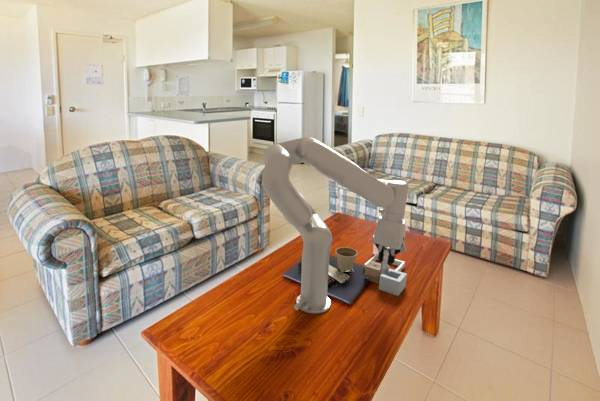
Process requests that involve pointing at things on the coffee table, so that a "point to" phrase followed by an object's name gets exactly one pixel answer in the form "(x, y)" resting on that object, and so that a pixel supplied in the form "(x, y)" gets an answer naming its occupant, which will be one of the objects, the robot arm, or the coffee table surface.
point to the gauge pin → (385, 261)
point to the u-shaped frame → (396, 262)
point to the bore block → (393, 282)
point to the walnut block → (373, 271)
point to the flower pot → (345, 258)
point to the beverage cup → (375, 249)
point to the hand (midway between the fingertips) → (385, 262)
